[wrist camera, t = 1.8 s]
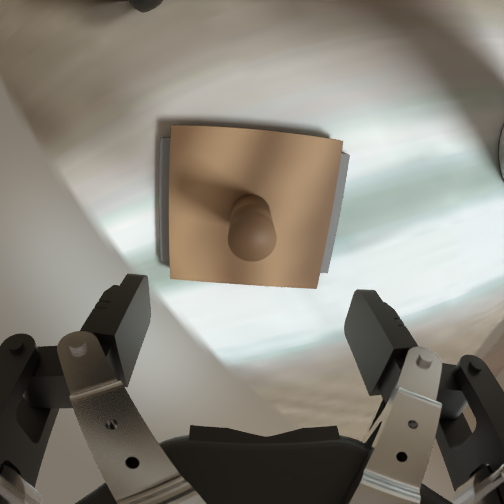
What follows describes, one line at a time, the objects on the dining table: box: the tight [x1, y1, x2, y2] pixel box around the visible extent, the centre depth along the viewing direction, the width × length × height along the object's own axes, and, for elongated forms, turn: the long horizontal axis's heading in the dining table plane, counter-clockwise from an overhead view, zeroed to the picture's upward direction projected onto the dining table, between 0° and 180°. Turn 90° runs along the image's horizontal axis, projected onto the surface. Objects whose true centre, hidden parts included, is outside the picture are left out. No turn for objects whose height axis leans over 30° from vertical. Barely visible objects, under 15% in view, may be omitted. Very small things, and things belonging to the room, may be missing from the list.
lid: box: [169, 125, 343, 289], centre depth 20 cm, size 12×12×6 cm
